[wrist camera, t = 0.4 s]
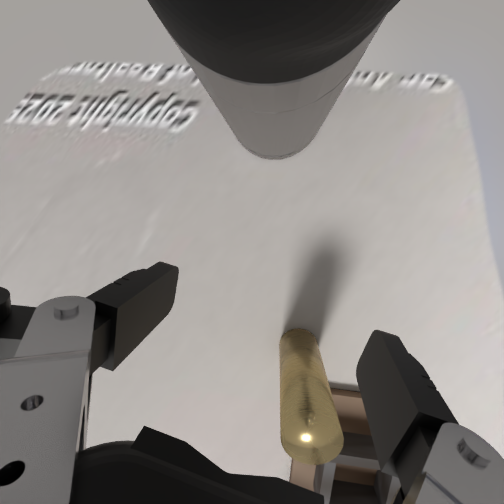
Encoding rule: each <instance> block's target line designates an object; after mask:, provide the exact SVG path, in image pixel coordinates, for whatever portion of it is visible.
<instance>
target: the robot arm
mask: <svg viewBox="0 0 504 504" xmlns="http://www.w3.org/2000/svg"><path fill="white" fill-rule="evenodd" d="M399 1H400V0H148V2H149V3H150V5H151V7H152V8H153V10H154V11H155V13H156V14H157V16H158V17H159V19H160V20H161V22H162V23H163V25H164V27H165V28H166V30H167V31H168V33H169V34H170V36H171V37H172V39H173V40H174V42H175V44H176V45H177V47H178V48H179V50H180V51H181V53H182V54H183V56H184V57H185V59H186V61H187V62H188V64H189V65H190V66H191V68H192V69H193V71H194V72H195V74H196V76H197V77H198V79H199V80H200V82H201V83H202V85H203V86H204V88H205V89H206V91H207V93H208V94H209V96H210V97H211V99H212V100H213V102H214V103H215V105H216V106H217V108H218V110H219V111H220V113H221V114H222V116H223V117H224V119H225V120H226V122H227V123H228V125H229V127H230V128H231V130H232V131H233V133H234V134H235V136H236V138H237V139H238V141H239V142H240V143H241V144H242V145H243V146H244V147H245V149H247V150H248V151H250V152H251V153H252V154H254V155H257V156H259V157H261V158H266V159H271V160H272V159H283V158H287V157H291V156H293V155H294V154H296V153H298V152H300V151H301V150H303V149H304V148H305V147H306V146H307V145H308V144H309V143H310V142H311V141H312V139H313V138H314V137H315V135H316V134H317V132H318V130H319V129H320V127H321V125H322V124H323V122H324V121H325V119H326V117H327V115H328V114H329V112H330V110H331V109H332V107H333V105H334V104H335V102H336V100H337V98H338V97H339V95H340V93H341V92H342V90H343V88H344V87H345V85H346V83H347V82H348V80H349V78H350V76H351V75H352V73H353V71H354V70H355V68H356V66H357V64H358V63H359V61H360V59H361V58H362V56H363V54H364V53H365V51H366V49H367V47H368V45H369V44H370V42H371V40H372V38H373V37H374V35H375V33H376V32H377V30H378V28H379V27H380V25H381V23H382V21H383V20H384V18H385V16H386V15H387V13H388V12H389V11H390V10H391V9H392V8H393V7H394V6H395V5H396V4H397V3H398V2H399ZM178 274H179V269H178V267H176V266H173V265H170V264H167V263H164V262H158V263H156V264H155V265H153V266H151V267H150V268H148V269H141V270H137V271H132V272H130V273H128V274H126V275H125V276H123V277H122V278H119V279H118V280H116V281H114V283H111V284H109V285H107V286H105V287H103V288H102V289H100V290H98V291H96V292H95V293H93V294H91V295H89V296H88V297H86V298H85V297H80V296H64V297H58V298H54V299H50V300H48V301H46V302H44V303H42V304H41V305H39V306H38V307H27V306H18V305H11V300H10V293H9V291H8V290H7V289H5V288H2V287H0V504H324V495H321V494H319V493H316V492H313V491H311V490H308V489H306V488H303V487H301V486H298V485H295V484H293V483H290V482H288V481H285V480H283V479H280V478H277V477H265V476H253V475H240V474H230V473H227V472H225V471H223V470H222V469H220V468H219V467H218V466H217V465H215V464H214V463H213V462H211V461H210V460H209V459H207V458H206V457H205V456H204V455H202V454H201V453H200V452H198V451H197V450H196V449H194V448H193V447H192V446H191V445H189V444H188V443H187V442H185V441H182V440H180V439H177V438H174V437H172V436H169V435H167V434H164V433H162V432H159V431H156V430H154V429H151V428H149V427H146V426H144V427H143V429H142V430H141V432H140V433H139V435H138V436H137V438H136V440H135V441H115V442H109V443H103V444H100V445H96V446H93V447H90V448H87V449H86V441H87V430H88V419H89V409H90V399H91V389H92V378H93V372H95V371H96V370H97V369H98V368H99V367H103V368H106V369H108V370H111V371H114V370H115V368H116V367H117V366H118V365H119V364H120V363H121V362H122V361H123V360H124V359H125V358H126V357H127V356H128V355H129V354H130V353H131V352H132V351H133V350H134V349H135V348H136V347H137V346H138V345H139V344H140V343H141V342H142V341H143V340H144V339H145V337H146V336H147V335H148V334H149V333H150V332H151V331H152V330H153V329H154V328H155V327H156V326H157V325H158V324H159V323H160V322H161V321H162V320H163V319H164V318H165V317H166V316H167V315H168V313H169V312H170V310H171V308H172V306H173V303H174V299H175V293H176V287H177V280H178ZM356 377H357V382H358V386H359V389H360V393H361V397H362V401H363V405H364V409H365V412H366V416H367V420H368V424H369V428H370V431H371V435H372V439H373V443H374V447H375V451H376V454H377V458H378V462H379V466H380V470H381V472H384V473H386V474H389V475H392V476H394V477H397V478H399V481H400V484H401V486H400V488H399V489H398V490H397V492H396V493H395V495H394V497H393V499H392V502H391V504H504V459H503V458H502V457H501V455H500V454H499V453H498V452H497V451H496V450H495V449H494V448H493V447H492V446H491V445H490V444H489V443H487V442H486V441H485V440H484V439H483V438H481V437H480V436H479V435H477V434H476V433H474V432H473V431H471V430H469V429H467V428H465V427H463V426H461V425H459V424H458V422H457V420H456V419H455V417H454V416H453V414H452V412H451V411H450V409H449V408H448V406H447V404H446V403H445V401H444V400H443V398H442V396H441V395H440V393H439V391H437V390H436V387H435V385H434V383H433V382H432V380H430V377H429V375H428V374H427V372H426V371H425V369H424V367H423V366H422V365H421V364H420V363H419V362H418V361H417V360H416V359H415V358H414V357H413V356H412V355H411V354H409V353H408V352H407V350H406V348H405V347H404V345H403V343H402V342H401V340H400V338H399V337H398V336H396V335H393V334H390V333H386V332H383V331H380V330H374V331H373V333H372V334H371V336H370V338H369V340H368V342H367V345H366V347H365V349H364V351H363V353H362V355H361V357H360V359H359V362H358V365H357V370H356Z"/></svg>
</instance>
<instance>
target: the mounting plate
mask: <svg viewBox="0 0 504 504" xmlns="http://www.w3.org/2000/svg"><path fill="white" fill-rule="evenodd" d="M330 390H331V394H332V397H333V401H334V404H335V408H336V412H337V415H338V419H339V422H340V426H341V429H342V433H343V437H344V444H343V448H342V450H341V452H340V453H339V455H338V456H337V457H336V458H334V459H333V460H331V461H329V462H327V463H324V464H320V465H308V464H304V463H301V462H298V461H296V460H294V459H293V458H292V464H291V472H290V479H289V482H290V483H293V484H295V485H298V486H301V487H303V488H306V489H308V490H311V491H313V492H316V493H319V494H321V495H324V504H391V502H392V499H393V497H394V495H395V493H396V492H397V490H398V489H399V488H400V486H401V484H400V481H399V478H397V477H394V476H392V475H389V474H386V473H384V472H381V470H380V466H379V462H378V458H377V454H376V451H375V447H374V443H373V439H372V435H371V431H370V428H369V424H368V420H367V416H366V412H365V409H364V405H363V401H362V397H361V393H360V392H355V391H348V390H340V389H333V388H330Z"/></svg>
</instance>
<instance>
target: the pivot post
mask: <svg viewBox="0 0 504 504" xmlns="http://www.w3.org/2000/svg"><path fill="white" fill-rule="evenodd" d="M279 350H280V424H281V443H282V446H283V448H284V450H285V451H286V453H287V454H288V455H289V456H290V457H292V458H293V459H294V460H296V461H298V462H301V463H304V464H308V465H320V464H324V463H327V462H329V461H331V460H333V459H334V458H336V457H337V456H338V455H339V453H340V452H341V450H342V448H343V444H344V437H343V433H342V429H341V426H340V422H339V419H338V415H337V412H336V408H335V404H334V401H333V397H332V394H331V390H330V387H329V383H328V379H327V376H326V372H325V369H324V365H323V361H322V358H321V354H320V351H319V347H318V344H317V340H316V338H315V337H314V335H313V334H312V333H310V332H309V331H307V330H304V329H292V330H289V331H287V332H286V333H285V334H284V335H283V336H282V338H281V340H280V344H279Z"/></svg>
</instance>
